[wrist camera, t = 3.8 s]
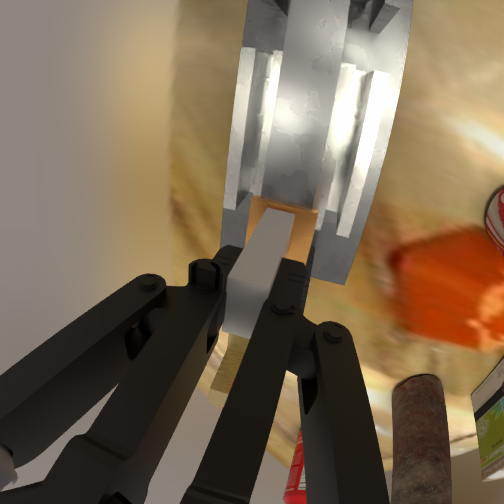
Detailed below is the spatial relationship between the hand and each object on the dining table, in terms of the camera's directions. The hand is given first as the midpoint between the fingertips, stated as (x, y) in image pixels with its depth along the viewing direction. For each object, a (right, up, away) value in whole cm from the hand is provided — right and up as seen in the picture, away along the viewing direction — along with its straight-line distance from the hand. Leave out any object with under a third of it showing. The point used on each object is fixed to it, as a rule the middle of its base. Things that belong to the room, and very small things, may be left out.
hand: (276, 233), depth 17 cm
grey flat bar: (+1, +5, -1) cm, 6 cm away
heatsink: (+3, +9, +6) cm, 11 cm away
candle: (+21, -20, +18) cm, 34 cm away
